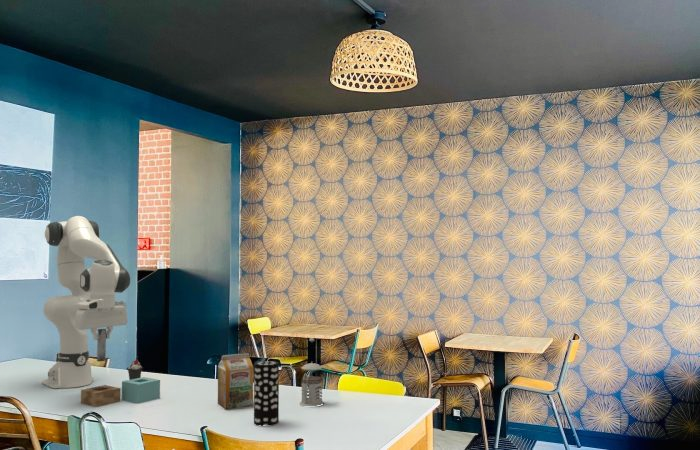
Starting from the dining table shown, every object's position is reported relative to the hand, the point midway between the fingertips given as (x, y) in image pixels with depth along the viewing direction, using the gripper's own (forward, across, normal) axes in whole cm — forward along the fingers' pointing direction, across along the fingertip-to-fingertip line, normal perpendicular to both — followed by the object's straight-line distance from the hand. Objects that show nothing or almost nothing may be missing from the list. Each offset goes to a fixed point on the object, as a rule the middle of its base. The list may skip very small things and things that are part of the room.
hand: (101, 339), depth 232 cm
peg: (+8, 0, 0) cm, 8 cm away
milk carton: (+24, -29, +42) cm, 57 cm away
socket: (+25, 0, 0) cm, 25 cm away
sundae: (+25, -20, -6) cm, 33 cm away
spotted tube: (+24, -18, +68) cm, 75 cm away
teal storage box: (+25, -12, +8) cm, 29 cm away
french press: (+24, -46, +66) cm, 84 cm away
